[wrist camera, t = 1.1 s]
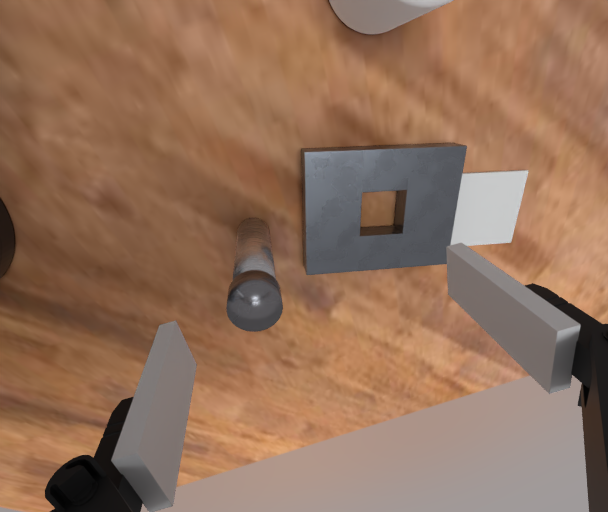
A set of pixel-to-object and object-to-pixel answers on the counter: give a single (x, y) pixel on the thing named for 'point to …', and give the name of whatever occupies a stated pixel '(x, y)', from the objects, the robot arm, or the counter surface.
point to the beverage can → (381, 13)
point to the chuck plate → (371, 178)
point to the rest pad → (488, 207)
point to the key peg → (254, 279)
